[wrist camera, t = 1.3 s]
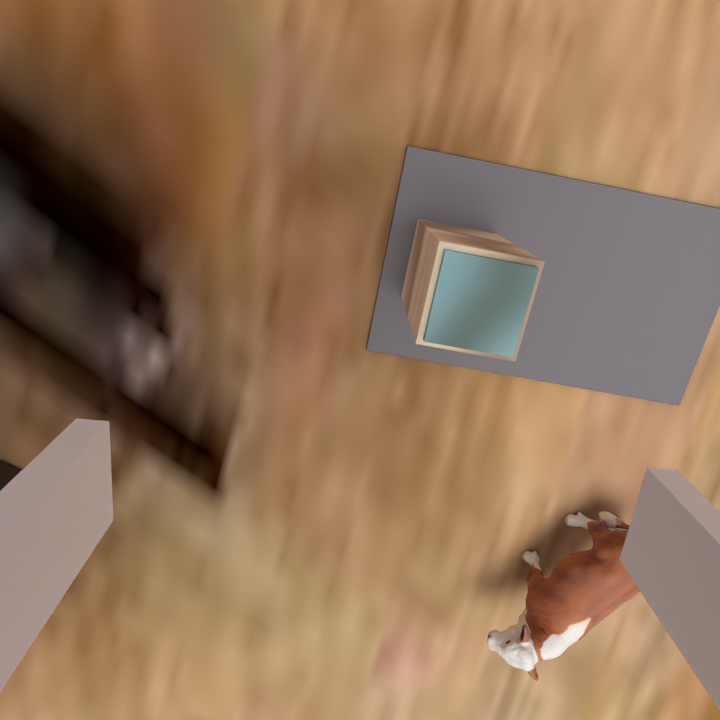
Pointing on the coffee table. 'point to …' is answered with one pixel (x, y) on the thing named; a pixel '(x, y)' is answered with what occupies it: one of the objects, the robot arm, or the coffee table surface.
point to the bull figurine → (568, 596)
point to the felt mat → (569, 274)
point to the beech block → (469, 290)
